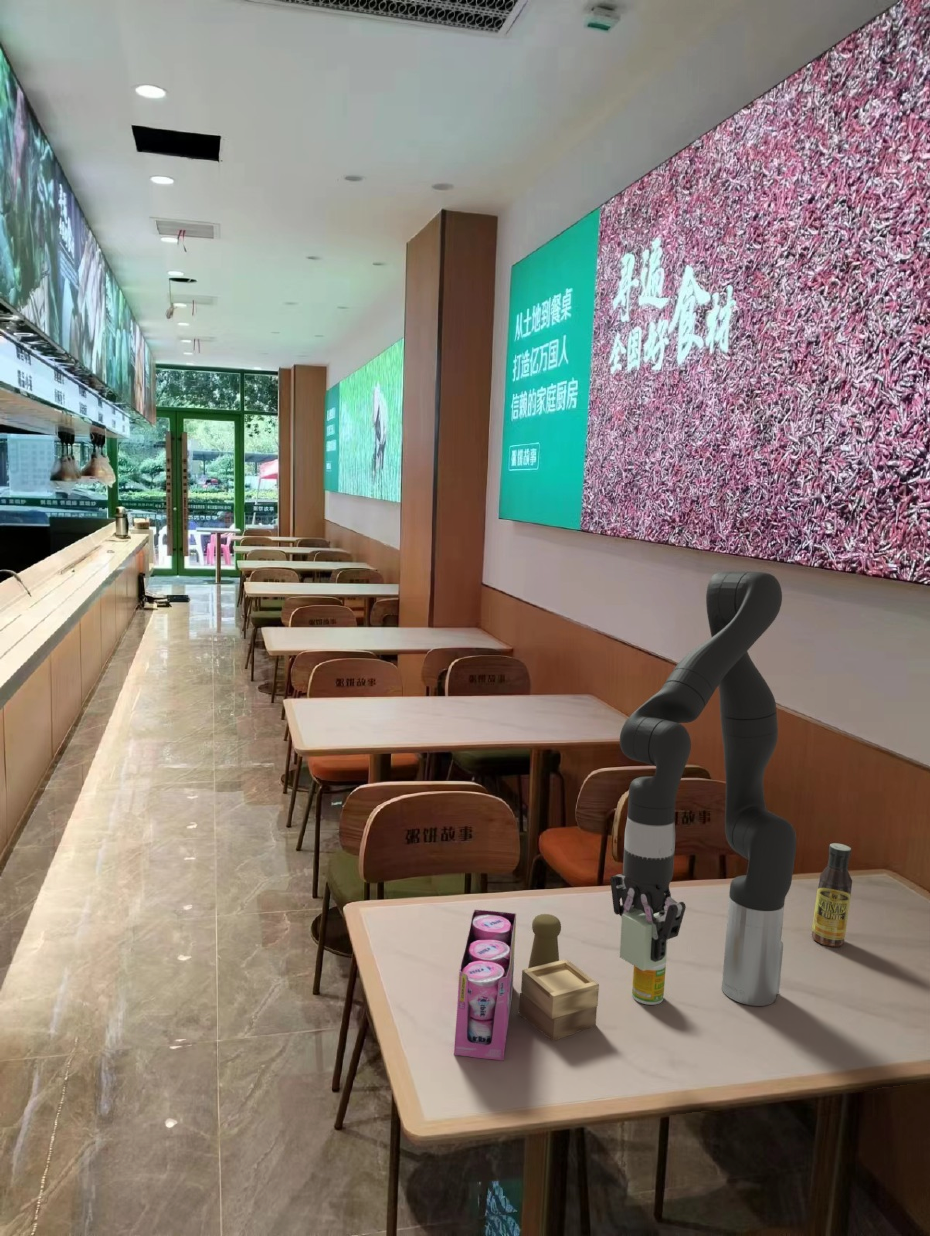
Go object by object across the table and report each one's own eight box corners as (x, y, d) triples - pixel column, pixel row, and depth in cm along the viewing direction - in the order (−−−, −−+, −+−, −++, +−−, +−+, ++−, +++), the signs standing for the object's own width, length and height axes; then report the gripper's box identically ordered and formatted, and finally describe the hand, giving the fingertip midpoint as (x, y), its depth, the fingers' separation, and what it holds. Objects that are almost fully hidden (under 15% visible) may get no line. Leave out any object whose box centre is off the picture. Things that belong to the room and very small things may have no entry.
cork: (558, 986, 161) (562, 926, 160) (524, 981, 162) (528, 922, 161) (562, 969, 167) (565, 912, 166) (529, 964, 168) (532, 908, 167)
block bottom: (560, 1001, 157) (561, 979, 156) (595, 1027, 149) (597, 1004, 149) (518, 1015, 152) (519, 993, 151) (553, 1043, 144) (554, 1019, 144)
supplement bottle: (656, 1009, 155) (660, 955, 154) (627, 999, 158) (630, 946, 156) (667, 995, 159) (671, 943, 158) (638, 986, 162) (642, 934, 161)
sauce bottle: (810, 944, 181) (819, 848, 179) (811, 931, 187) (820, 838, 185) (846, 951, 179) (855, 854, 177) (845, 938, 185) (855, 843, 182)
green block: (642, 949, 144) (644, 907, 144) (666, 962, 140) (668, 919, 140) (619, 957, 142) (622, 914, 141) (643, 971, 138) (645, 927, 137)
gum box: (503, 1067, 137) (508, 982, 135) (451, 1061, 138) (455, 977, 136) (513, 986, 160) (517, 912, 159) (468, 981, 161) (472, 908, 160)
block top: (565, 980, 156) (566, 959, 156) (597, 1006, 148) (599, 984, 148) (521, 991, 152) (522, 969, 151) (551, 1018, 144) (553, 996, 143)
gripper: (702, 857, 135) (695, 965, 137) (633, 828, 147) (627, 928, 149) (667, 867, 131) (660, 979, 133) (598, 836, 143) (593, 939, 145)
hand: (643, 951), depth 141 cm, fingers closed on green block, 5 cm apart
